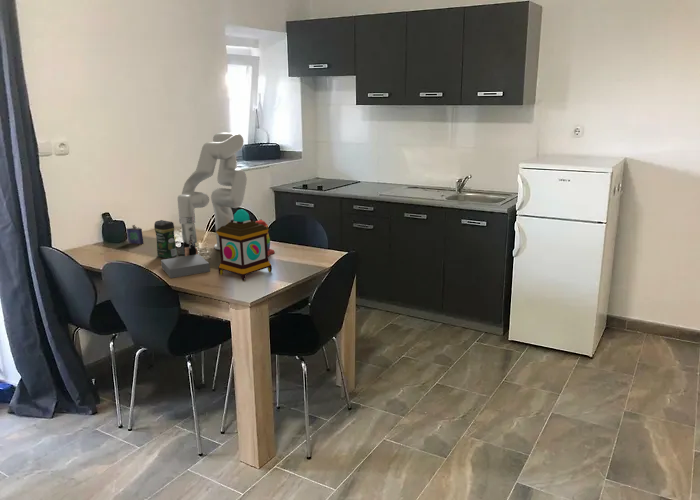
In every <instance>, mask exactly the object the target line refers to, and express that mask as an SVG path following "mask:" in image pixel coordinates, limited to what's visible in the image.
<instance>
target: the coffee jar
mask: <svg viewBox="0 0 700 500" xmlns="http://www.w3.org/2000/svg"><path fill="white" fill-rule="evenodd" d="M153 228H154V231H155V237H156V251H157V253H156V254H157V257H160V258H162V259H170V258H176V257H177V256H178V252H177V246H176V238H175V224H174V222H173V221H168V220H164V219H160V220H157V221H155V222H154V227H153Z"/></svg>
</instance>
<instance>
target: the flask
mask: <svg viewBox="0 0 700 500" xmlns="http://www.w3.org/2000/svg"><path fill="white" fill-rule="evenodd" d="M125 229H126V235H127V236H126V238H127V244H128V245H138V244H139V245H140V244H141V246H142V244H143V245H144V236H143V232H142V231H143V230H142V228H141V227H138V226H136V224H132V227H127V228H125Z"/></svg>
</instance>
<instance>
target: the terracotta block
mask: <svg viewBox="0 0 700 500" xmlns="http://www.w3.org/2000/svg"><path fill="white" fill-rule="evenodd" d="M184 249H185V252H184V256H189V247H186V248H184V247H183V250H184ZM196 254H198V248H197V247H196Z"/></svg>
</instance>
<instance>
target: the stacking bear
mask: <svg viewBox="0 0 700 500" xmlns="http://www.w3.org/2000/svg"><path fill="white" fill-rule="evenodd" d="M255 222H256V223H258V224H262V225H264V226H266V227H267V228H268V229H269V225H268V223H267V222H266V221H265V220H263V219H259V220H256V221H255ZM267 250H268V258H269V257H270V255H273V254H275V252H276V251H275V250H274V249H272V248H271V238H270V235H269V231H268V232H267Z"/></svg>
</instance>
